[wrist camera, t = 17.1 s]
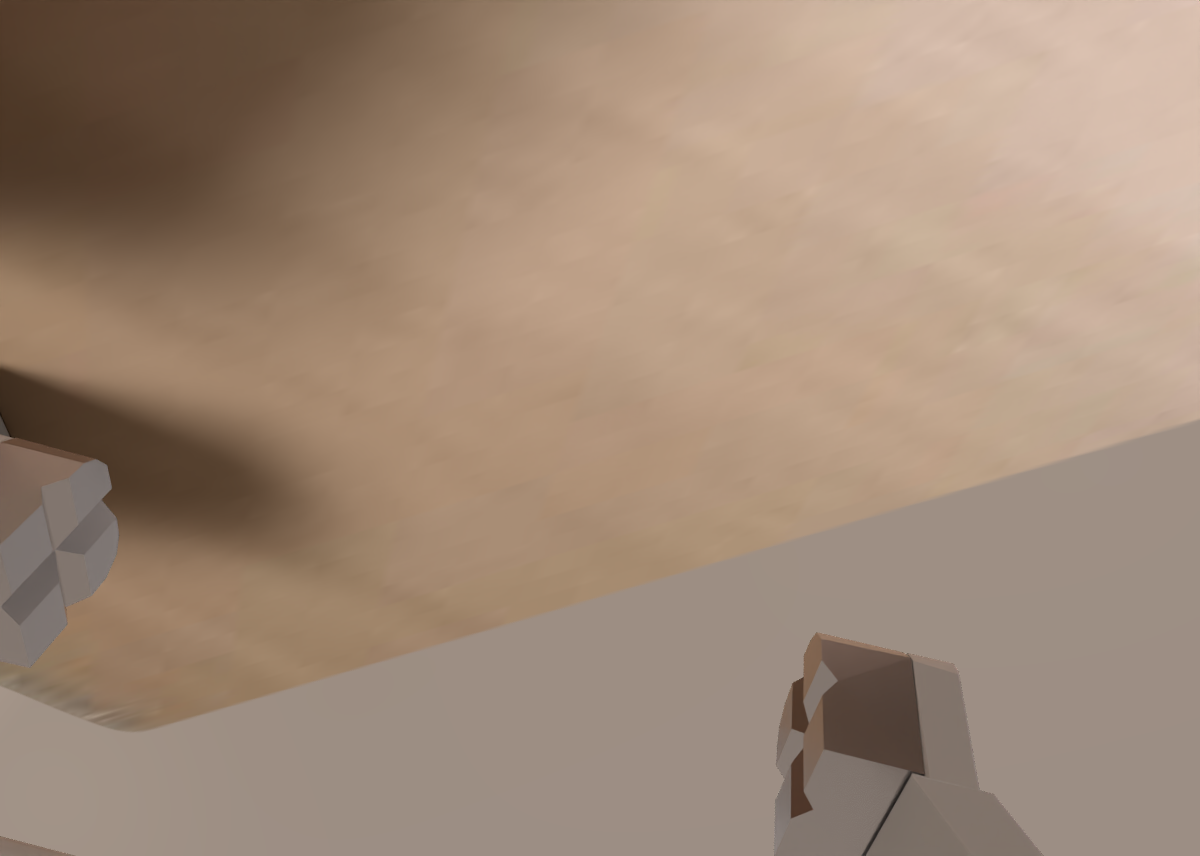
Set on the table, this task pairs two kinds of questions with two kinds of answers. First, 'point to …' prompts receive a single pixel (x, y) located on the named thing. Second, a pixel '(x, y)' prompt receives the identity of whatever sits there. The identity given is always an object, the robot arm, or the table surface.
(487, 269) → the table surface
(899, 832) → the robot arm
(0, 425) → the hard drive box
